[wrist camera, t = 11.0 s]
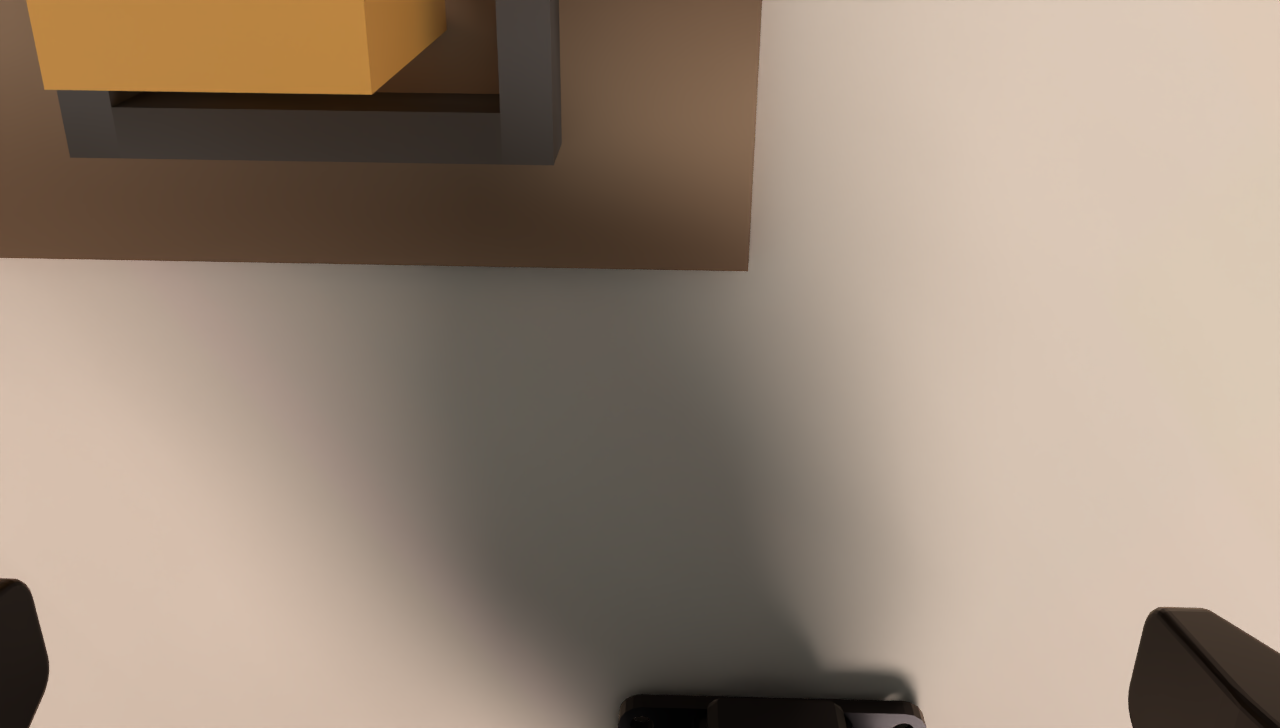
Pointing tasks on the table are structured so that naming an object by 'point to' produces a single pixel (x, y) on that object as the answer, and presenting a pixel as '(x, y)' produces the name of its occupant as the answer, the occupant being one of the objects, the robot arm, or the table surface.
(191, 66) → the tan cardboard box
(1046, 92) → the table surface
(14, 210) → the end holder
